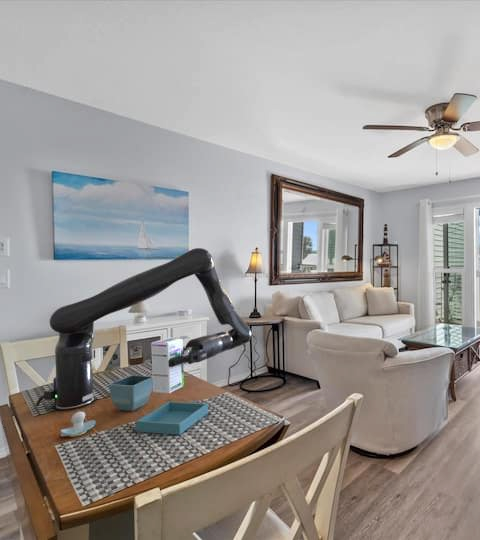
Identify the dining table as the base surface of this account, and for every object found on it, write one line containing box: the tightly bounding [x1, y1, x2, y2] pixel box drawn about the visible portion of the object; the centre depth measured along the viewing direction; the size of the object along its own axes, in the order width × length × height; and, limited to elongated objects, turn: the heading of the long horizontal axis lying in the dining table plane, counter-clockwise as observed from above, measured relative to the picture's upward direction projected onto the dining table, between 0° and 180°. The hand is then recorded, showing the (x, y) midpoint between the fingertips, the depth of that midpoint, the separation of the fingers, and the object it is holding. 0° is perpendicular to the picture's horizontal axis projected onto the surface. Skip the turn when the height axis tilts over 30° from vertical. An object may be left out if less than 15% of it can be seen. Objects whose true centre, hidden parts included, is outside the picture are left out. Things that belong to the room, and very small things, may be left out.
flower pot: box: [108, 374, 153, 412], centre depth 107 cm, size 9×9×9 cm
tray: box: [135, 401, 209, 436], centre depth 98 cm, size 13×13×3 cm
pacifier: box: [60, 411, 96, 438], centre depth 91 cm, size 7×6×6 cm
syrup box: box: [150, 337, 185, 394], centre depth 96 cm, size 6×6×14 cm
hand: (160, 362), depth 94 cm, fingers closed on syrup box, 6 cm apart
